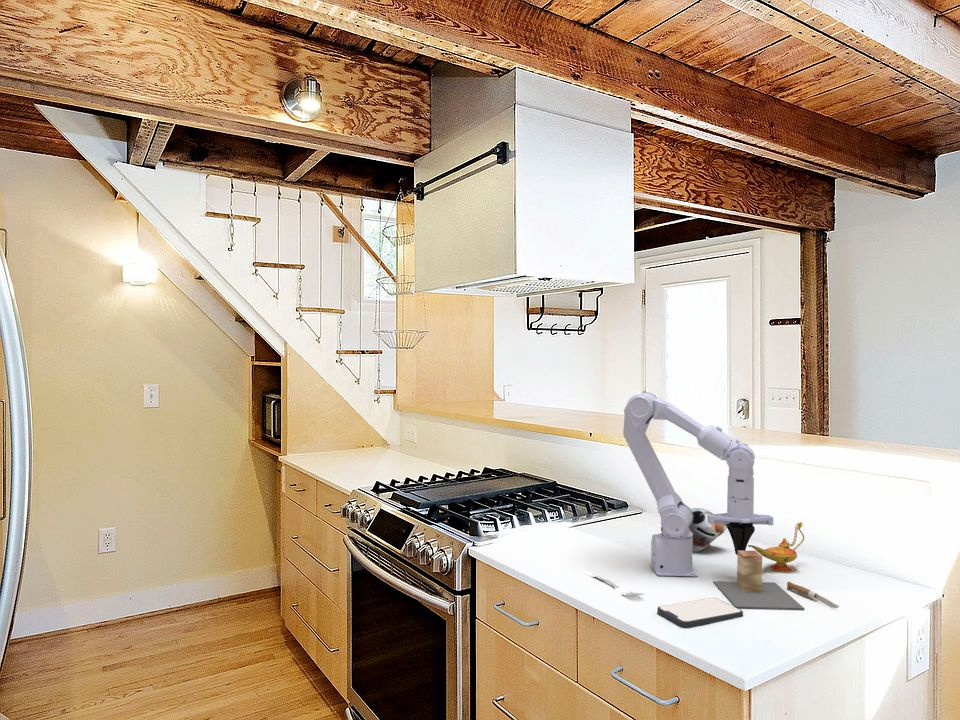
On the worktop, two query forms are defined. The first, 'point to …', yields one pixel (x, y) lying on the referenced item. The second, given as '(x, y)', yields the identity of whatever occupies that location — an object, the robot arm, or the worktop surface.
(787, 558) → the magic lamp
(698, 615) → the phone case
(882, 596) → the worktop surface
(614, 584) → the fork
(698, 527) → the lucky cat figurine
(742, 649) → the worktop surface
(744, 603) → the rubber mat
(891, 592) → the worktop surface
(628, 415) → the robot arm
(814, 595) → the folding knife
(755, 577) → the maple block
